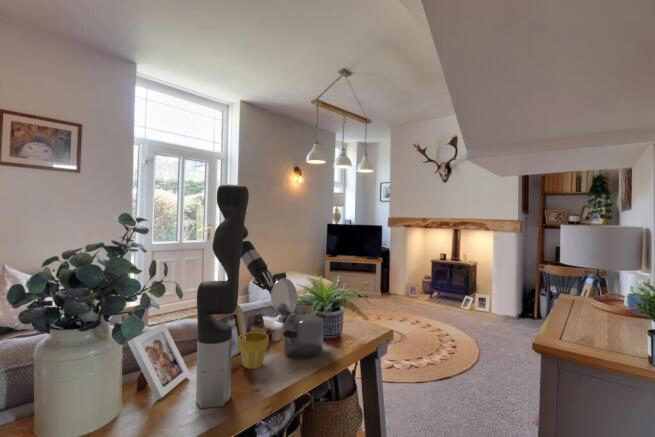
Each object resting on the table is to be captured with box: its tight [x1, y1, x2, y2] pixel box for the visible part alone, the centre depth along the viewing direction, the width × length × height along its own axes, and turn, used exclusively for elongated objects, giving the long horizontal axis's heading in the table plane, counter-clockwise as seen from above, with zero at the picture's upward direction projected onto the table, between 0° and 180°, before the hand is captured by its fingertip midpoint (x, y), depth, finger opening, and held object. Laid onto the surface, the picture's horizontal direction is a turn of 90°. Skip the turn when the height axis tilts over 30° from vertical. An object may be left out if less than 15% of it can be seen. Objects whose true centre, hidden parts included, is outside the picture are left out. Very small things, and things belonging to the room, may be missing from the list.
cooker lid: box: [270, 271, 298, 317], centre depth 139 cm, size 17×15×2 cm
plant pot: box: [237, 331, 270, 370], centre depth 120 cm, size 10×10×10 cm
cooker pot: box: [277, 312, 324, 360], centre depth 133 cm, size 17×20×12 cm
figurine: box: [249, 312, 267, 334], centre depth 141 cm, size 7×7×12 cm
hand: (275, 295), depth 141 cm, fingers closed
